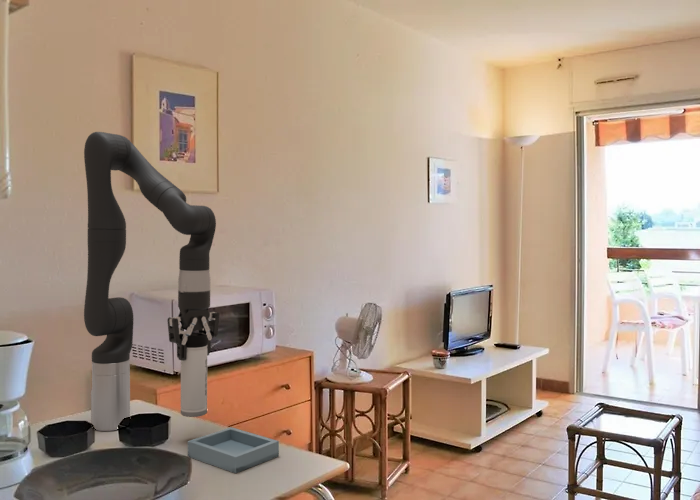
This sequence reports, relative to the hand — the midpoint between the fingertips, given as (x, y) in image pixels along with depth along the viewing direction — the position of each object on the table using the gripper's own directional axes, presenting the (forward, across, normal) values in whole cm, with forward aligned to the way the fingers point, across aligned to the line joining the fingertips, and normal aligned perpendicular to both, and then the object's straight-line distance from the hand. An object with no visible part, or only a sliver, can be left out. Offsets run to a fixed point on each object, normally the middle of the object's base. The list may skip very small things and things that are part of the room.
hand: (193, 357), depth 157 cm
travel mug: (+14, 0, 0) cm, 14 cm away
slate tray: (+20, +1, +15) cm, 25 cm away
